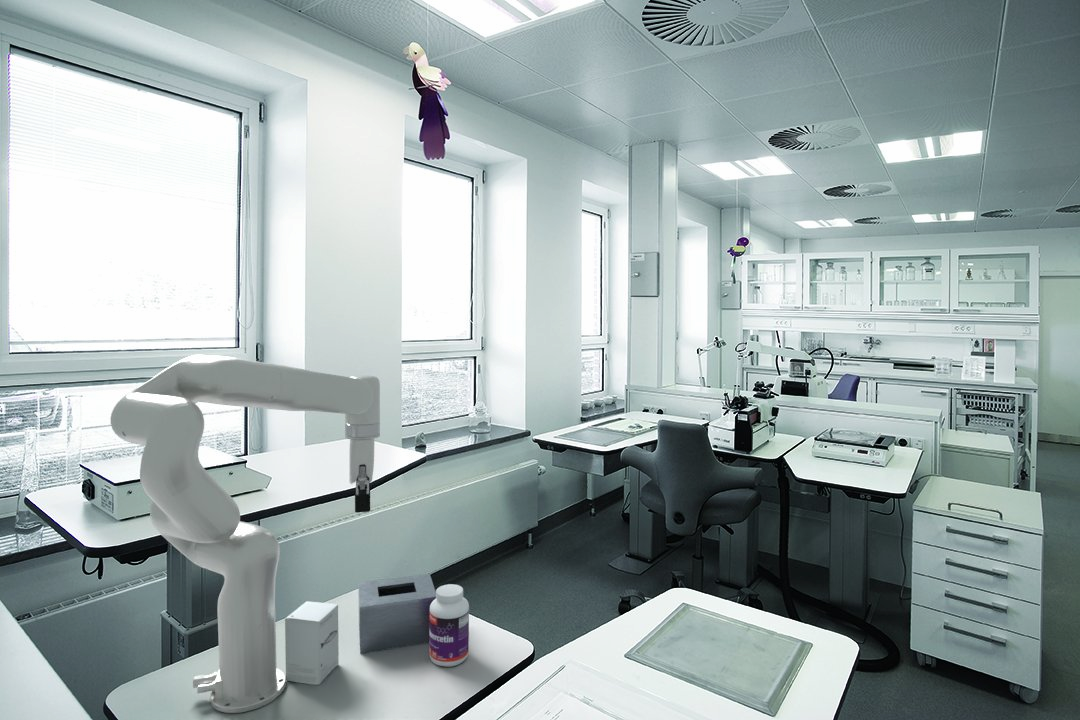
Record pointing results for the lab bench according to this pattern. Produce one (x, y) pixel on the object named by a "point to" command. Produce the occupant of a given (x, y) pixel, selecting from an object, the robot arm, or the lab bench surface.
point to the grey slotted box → (395, 612)
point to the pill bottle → (449, 626)
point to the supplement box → (311, 642)
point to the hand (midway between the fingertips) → (362, 505)
